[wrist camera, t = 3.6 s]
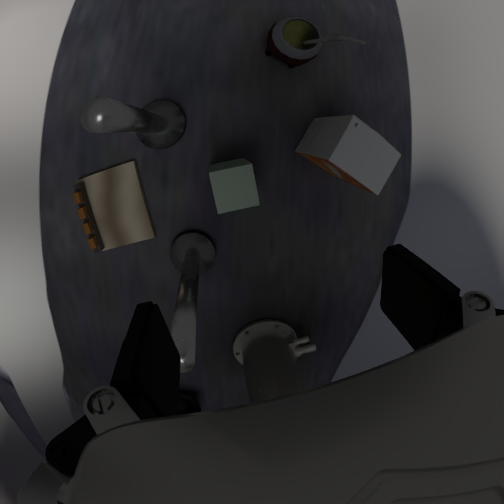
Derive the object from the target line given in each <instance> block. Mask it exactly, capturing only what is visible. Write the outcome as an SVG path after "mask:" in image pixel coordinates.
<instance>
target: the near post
mask: <svg viewBox="0 0 504 504" xmlns="http://www.w3.org/2000/svg"><path fill="white" fill-rule="evenodd" d="M80 120H81V124H82V126H83V128H84V129H85V130H86V131H88V132H91V133H107V132H137V135H138V138H139V139H140V141H141V142H142V143H143V144H145V145H146V146H148V147H150V148H154V149H163V148H167V147H170V146H172V145H174V144H175V143H176V142H178V141H179V140H180V138H181V137H182V135H183V134H184V131H185V128H186V119H185V115H184V113H183V111H182V110H181V109H180V108H179V107H178V106H177V105H176V104H174V103H172V102H170V101H165V100H159V101H155V102H152V103H150V104H148V105H147V106H146V107H144V108H143V109H141V108H138V107H135V106H132V105H129V104H126V103H122V102H119V101H116V100H113V99H110V98H106V97H103V96H97V97H93V98H91V99H90V100H89V101H87V102H86V104H85V105H84V106H83V108H82V111H81V115H80Z"/></svg>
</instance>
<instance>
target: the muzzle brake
mask: <svg viewBox="0 0 504 504" xmlns="http://www.w3.org/2000/svg"><path fill="white" fill-rule="evenodd" d="M197 412H201V408H200V405H199V403H198V402H197V400H196V399H195V398H193V397H192V396H190V395H188V394H185V393H183V391H179V395H178V414H177V415H182V414H189V413H197Z"/></svg>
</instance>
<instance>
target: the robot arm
mask: <svg viewBox="0 0 504 504" xmlns="http://www.w3.org/2000/svg"><path fill="white" fill-rule="evenodd" d="M459 294H460V289H459V288H458V287H457V286H455V285H454V284H453V283H452V282H450V281H449V280H448V279H447V278H445V277H444V276H443V275H442V274H440V273H439V272H438V271H436V270H435V269H434V268H432V267H431V266H430V265H428V264H427V263H426V262H424V261H423V260H422V259H420V258H419V257H418V256H416V255H415V254H413V253H412V252H410V251H409V250H408V249H407V248H405V247H404V246H402V245H401V244H396V245H392V246H389V247H387V248H386V251H384V253H383V271H382V287H381V300H380V306H381V309H382V311H383V312H384V314H385V315H386V316H387V317H388V318H389V319H390V321H391V322H392V323H393V324H394V326H395V327H396V328H397V329H398V330H399V332H400V333H401V334H402V335H403V337H405V339H406V340H407V341H408V343H409V344H410V345H411V347H412V348H413V349H414V350H415V351H413V352H411V353H409V354H406V355H404V356H402V357H399V358H397V359H394V360H392V361H390V362H387V363H385V364H382V365H379V366H377V367H374V368H372V369H369V370H366V371H364V372H361V373H358V374H355V375H352V376H349V377H346V378H343V379H340V380H337V381H334V382H331V383H328V384H324V385H321V386H318V387H314V388H311V389H307V386H306V384H305V381H304V378H303V376H302V373H301V370H300V367H299V365H298V362H297V359H296V357H300V356H301V354H303V353H309V352H313V351H316V345H315V342H314V341H313V342H310V343H306V342H309V337H308V335H306V336H302V337H299V338H297V336H296V333H295V331H294V329H293V328H292V327H291V326H290V325H289V324H287V323H285V322H283V321H280V320H276V319H263V320H259V321H255V322H253V323H250V324H248V325H247V326H245V327H244V328H242V329H241V330H240V331H239V332H238V334H237V335H236V337H235V338H234V341H233V353H234V356H235V358H236V359H237V360H238V361H239V362H240V363H241V364H242V365H244V371H245V377H246V383H247V389H248V395H249V401H250V403H249V404H244V405H239V406H233V407H228V408H222V409H216V410H210V411H203V412H197V413H189V414H182V415H177V414H178V395H179V379H180V365H181V358H180V354H179V351H178V349H177V347H176V345H175V343H174V341H173V338H172V336H171V334H170V332H169V330H168V327H167V325H166V323H165V320H164V318H163V316H162V314H161V311H160V309H159V307H158V305H157V304H153V303H152V302H151V301H150V302H145V303H140V304H137V306H136V309H135V312H134V314H133V317H132V320H131V323H130V326H129V329H128V332H127V335H126V338H125V339H124V341H123V344H122V347H121V350H120V353H119V356H118V359H117V362H116V366H115V369H114V372H113V376H112V379H111V383H110V386H101V387H98V388H96V389H94V390H93V391H91V392H90V393H89V394H88V395H87V397H86V398H85V401H84V406H83V408H84V412H85V414H86V415H84V416H83V417H82V418H80V419H79V420H78V421H76V422H75V423H74V424H72V425H71V426H70V427H68V428H67V429H66V430H64V431H63V432H62V433H60V434H59V435H58V436H56V437H55V438H53V439H52V440H51V441H50V443H49V444H48V446H47V448H46V459H47V461H46V463H43V462H41V463H40V464H39V465H38V467H37V468H36V469H35V471H34V472H33V473H32V475H31V476H30V477H29V478H28V480H27V481H26V483H25V484H24V485H23V486H22V488H21V489H20V490H19V492H18V496H17V501H18V504H504V310H501V309H495V308H494V303H493V301H492V299H491V298H490V297H489V296H488V295H486V294H484V293H482V292H478V291H470V292H467V293H465V294H464V295H463V297H460V296H459ZM301 343H306V344H304V345H300V346H299V345H298V344H301Z"/></svg>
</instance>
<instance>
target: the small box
mask: <svg viewBox="0 0 504 504" xmlns="http://www.w3.org/2000/svg"><path fill="white" fill-rule="evenodd" d="M295 152H296V153H298V154H300V155H302V156H303V157H305V158H307V159H308V160H310V161H312V162H313V163H315V164H316V165H318V166H319V167H321V168H323V169H324V170H326V171H327V172H329V173H330V174H332V175H333V176H334V177H336V178H339V179H341V180H344V181H346V182H348V183H351V184H353V185H355V186H357V187H360V188H362V189H364V190H366V191H369V192H371V193H373V194H375V195H377V196H378V195H379V193H380V191H381V190H382V188H383V186H384V184H385V183H386V181H387V179H388V178H389V176H390V174H391V172H392V171H393V169H394V167H395V165H396V164H397V162H398V160H399V158H400V157H401V154H400V153H399V152H398V151H397V150H396V149H395V148H394V147H393V146H392V145H391V144H389V143H388V142H387V141H386V140H385V139H384V138H383V137H382V136H381V135H380V134H378V133H377V132H376V131H375V130H373V129H372V128H371V127H369V126H368V125H367V124H365V123H364V122H363V121H361V120H360V119H359V118H358V117H356V116H355V115H344V116H331V117H320V118H314V119H313V121H312V122H311V124H310V126H309V127H308V129H307V131H306V133H305V134H304V136H303V138H302V140H301V141H300V143H299V145H298V146H297V148H296V150H295Z"/></svg>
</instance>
